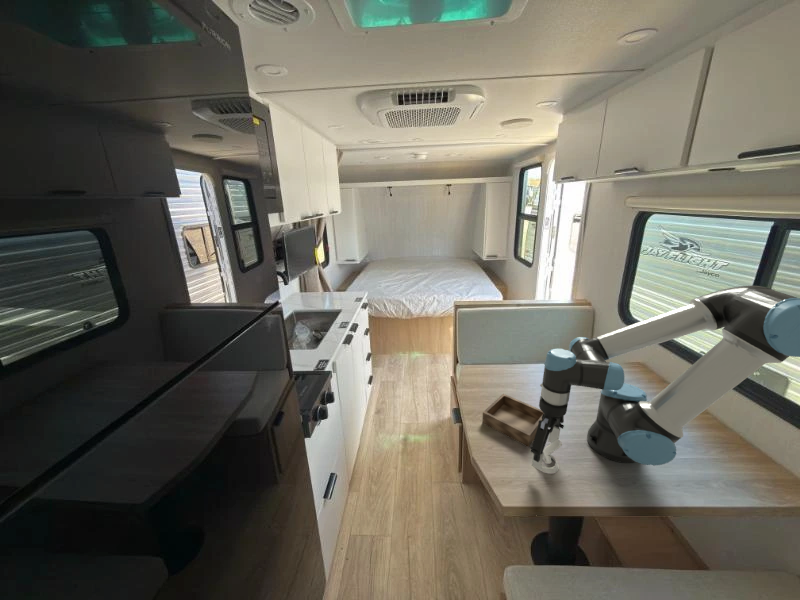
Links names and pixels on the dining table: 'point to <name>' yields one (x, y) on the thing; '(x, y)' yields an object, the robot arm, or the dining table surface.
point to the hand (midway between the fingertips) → (545, 454)
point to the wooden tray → (513, 419)
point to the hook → (551, 457)
